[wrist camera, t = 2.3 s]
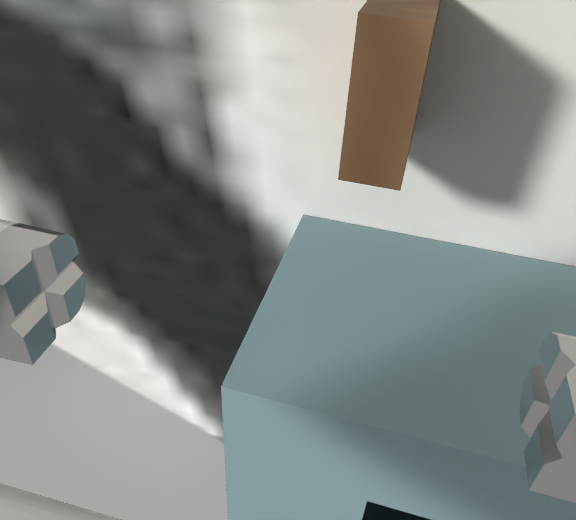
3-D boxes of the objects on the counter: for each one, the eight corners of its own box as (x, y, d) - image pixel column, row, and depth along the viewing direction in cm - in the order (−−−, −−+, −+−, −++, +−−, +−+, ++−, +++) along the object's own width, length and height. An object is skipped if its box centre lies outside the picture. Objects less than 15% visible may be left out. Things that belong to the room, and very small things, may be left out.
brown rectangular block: (442, -11, 17) (435, 21, 13) (412, 133, 20) (400, 190, 17) (381, -18, 17) (358, 12, 14) (361, 126, 20) (338, 179, 17)
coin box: (816, 313, 20) (1037, 600, 12) (627, 518, 30) (681, 748, 22) (303, 214, 23) (221, 386, 16) (287, 426, 33) (231, 595, 26)
